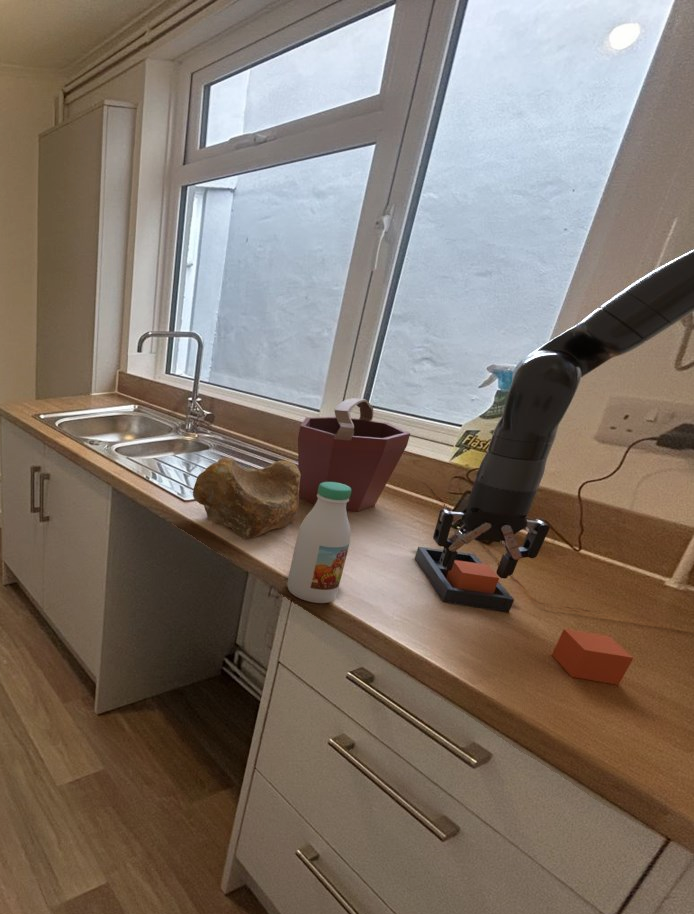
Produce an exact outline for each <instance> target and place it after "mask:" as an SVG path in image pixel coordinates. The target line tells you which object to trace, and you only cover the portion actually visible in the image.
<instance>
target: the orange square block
mask: <svg viewBox="0 0 694 914" xmlns="http://www.w3.org/2000/svg"><path fill="white" fill-rule="evenodd" d="M446 579H447V581H448V582H449V584H450V585H451V586H452V588H458V589H464V590H471V591H477V592H484V593H491V594H493V593H494V591H495V588H496V586H497V583H498V582H499V580H500V577H499V576H498V575H497V573H496V572H495V571H494V570H493V569H492V567H490V566H489V564H488V563H487V564H486V563H483V564H480V563H473V562H466V561H458V560H455V561H454V564H453V567H452V570H451V571H450V570H449V571H448V574H447V577H446Z"/></svg>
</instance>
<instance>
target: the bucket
mask: <svg viewBox="0 0 694 914" xmlns="http://www.w3.org/2000/svg"><path fill="white" fill-rule="evenodd" d="M356 406H357V407H358V408H359V418H356V417H351V411H352V410H353V409H354V408H355V407H356ZM333 411H334V416H318V417H317V416H313V417H305V419H303V421H302V422H301V424H300V425H299V431H298V435H297V460H298V461H297V464H298V465H297V467H298V469H299V471H300V475H301V477H300V485H299V499H302V500H304V501H306V502H309V503H311V504H313V505H315V504H316V502H317V500H318V497H317V494H318V487H319V485H320V483H323V482H336V483H341V484H345V485H347V486H349V487H350V488H351V495H350V497H349V501H348V502H347V503H346V511H349V512H355V513H356V512H361V511H363V510H366V509H369V508H372V507H374V506H376V504H377V502H378V500H379V498H380V496H381V495H382V493H383V491H384V489H385V487H386V485H387V484H388V483H389V480H390V478H391V476H392V474H393V473H394V471H395V468H396V467H397V465H398V464H399V461H400V460H401V458H402V456H403V454H404V452H405V450H406V448H407V446H408V443H409V440H410V437H411V432H408V431H407V430H406V429H405V430H404V429H403V428H401V427H398V426H396V425H393V424H391V423H389V422H385V421H376V420H373V418H374V407H373V405H371V403H370V402H369V400H367V399H366V398H357V397H351V398H347V399H344V400H343V401H342V402H340V403H339V404H337V405H336V406H335V408H334V410H333Z"/></svg>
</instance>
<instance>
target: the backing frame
mask: <svg viewBox="0 0 694 914" xmlns="http://www.w3.org/2000/svg"><path fill="white" fill-rule="evenodd" d="M442 552H443V549H439V548H431V547H424V546H418V547H417V550H416V553H415V556H414V559H415V561H416V562H417V563H418V565H419V567H420V569H421V570H422V572H423V573H424V574H425V576H426V578H427V579H428V580H429V583H430V584H431V585H432V587H433V588H434V590H435V592H436V594H437V595H438V597H439V598H440V600H441V602H443V603H449V604H454V605H459V606H460V605H461V606H465V607H471V608H479V609H485V610H490V611H491V610H492V611H497V612H502V613H503V612H504V613H510V611H511V608H512V606H513V605H514V602H515V599H514V597H513V596H512V595H511V594H510V593H509V592H508V591H507V590H506V588H505V587H504V586H503V585H502V583H501V582H500V581H498V583H497V586H496V588H495V591H494V593H493V594H491V593H484V592H477V591H471V590H464V589H458V588H452V586H451V585H450V584H449V582H448V581H447V579H446V577H447V574H448V571H449V570H445V569H444V567H443V566H442V564H441V563H440V558H441V555H442ZM457 552H458V553H457V556H456V558H455V560H458V561H466V562H473V563H480V564H484V563H483V562H482V561H481V560H480V558H479V557H478V556H477V555H476V554H475V553H470V552H469V553H468V552H461V551H457Z"/></svg>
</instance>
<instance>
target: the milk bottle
mask: <svg viewBox="0 0 694 914" xmlns="http://www.w3.org/2000/svg"><path fill="white" fill-rule="evenodd" d="M350 495H351V488H350V487H349V486H347V485H345V484H341V483H336V482H323V483H320V485H319V487H318V494H317V497H318V500H317V502H316V504H314V506H313V507H312V509H311V510H310V511H309V512H308V514H306V516H304V519H303V520H302V522H301V524H300V526H299V528H298V532H297V536H296V540H295V545H294V550H293V554H292V559H291V563H290V568H289V573H288V578H287V583H286V587H287V589H288V591H289V593H290V594H292V595H293V597H294V596H295V597H296V598H298V599H300V600H303V601H305V602H310V603H314V604H327V603H331V602H333V601H334V600H335V599H336V597H337V595H338V591H339V588H340V583H341V579H342V576H343V572H344V568H345V563H346V561H347V556H348V553H349V548H350V542H351V535H352V534H351V532H352V531H351V524H350V521H349V518H348V514H347V510H346V503H347V502H348V501H349V497H350Z"/></svg>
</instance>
